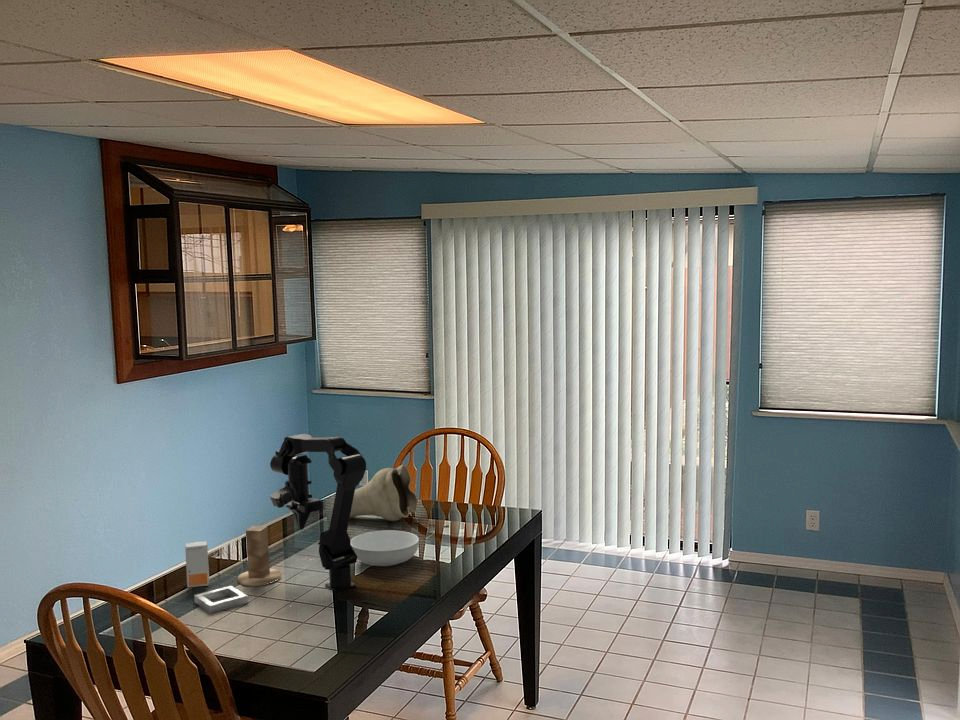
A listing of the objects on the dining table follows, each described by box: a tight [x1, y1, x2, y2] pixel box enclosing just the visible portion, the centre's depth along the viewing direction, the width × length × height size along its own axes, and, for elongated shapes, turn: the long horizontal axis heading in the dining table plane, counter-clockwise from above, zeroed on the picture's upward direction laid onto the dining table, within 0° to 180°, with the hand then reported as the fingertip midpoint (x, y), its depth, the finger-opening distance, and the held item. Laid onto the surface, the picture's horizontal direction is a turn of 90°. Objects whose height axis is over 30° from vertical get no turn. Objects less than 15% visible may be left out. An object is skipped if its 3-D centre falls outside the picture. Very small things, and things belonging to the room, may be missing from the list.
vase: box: [349, 464, 418, 522], centre depth 317 cm, size 23×23×30 cm
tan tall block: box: [245, 525, 271, 578], centre depth 258 cm, size 4×4×14 cm
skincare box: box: [184, 540, 210, 589], centre depth 255 cm, size 6×4×12 cm
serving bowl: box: [350, 529, 420, 567], centre depth 271 cm, size 21×21×7 cm
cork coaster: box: [237, 568, 281, 587], centre depth 259 cm, size 12×12×1 cm
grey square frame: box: [193, 585, 249, 614], centre depth 241 cm, size 10×10×2 cm
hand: (300, 529), depth 262 cm, fingers closed
